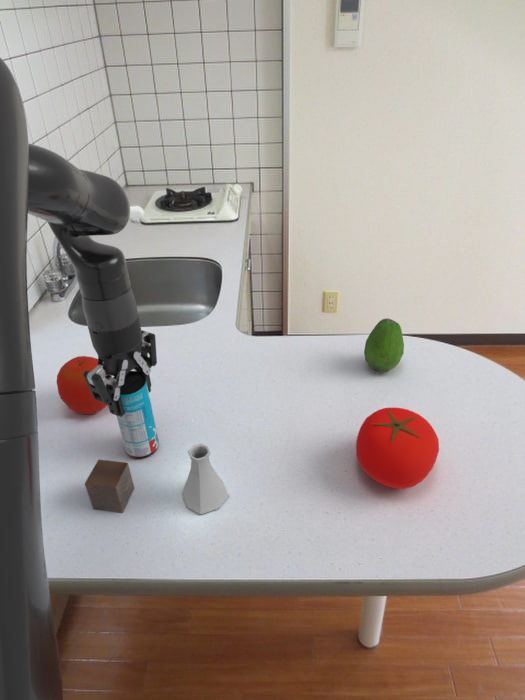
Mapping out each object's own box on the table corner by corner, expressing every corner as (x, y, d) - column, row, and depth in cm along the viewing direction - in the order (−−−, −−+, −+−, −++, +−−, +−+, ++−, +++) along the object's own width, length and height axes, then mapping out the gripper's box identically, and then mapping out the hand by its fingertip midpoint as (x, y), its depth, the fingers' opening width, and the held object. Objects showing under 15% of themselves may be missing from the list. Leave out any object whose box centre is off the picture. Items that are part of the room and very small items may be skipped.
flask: (211, 471, 88) (205, 427, 83) (237, 497, 84) (232, 453, 78) (174, 494, 85) (165, 450, 79) (199, 522, 80) (192, 477, 74)
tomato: (368, 430, 95) (373, 385, 89) (441, 452, 90) (451, 406, 84) (340, 485, 85) (344, 438, 79) (420, 514, 80) (430, 466, 74)
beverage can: (166, 446, 93) (153, 380, 85) (138, 465, 90) (122, 398, 81) (146, 431, 97) (132, 366, 88) (119, 448, 93) (101, 382, 85)
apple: (128, 400, 104) (117, 353, 98) (88, 430, 98) (74, 381, 91) (94, 384, 109) (81, 337, 103) (54, 411, 102) (37, 363, 96)
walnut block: (122, 513, 82) (115, 487, 78) (93, 509, 83) (84, 483, 79) (134, 488, 86) (128, 462, 83) (106, 484, 87) (98, 459, 83)
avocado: (398, 382, 106) (406, 332, 99) (360, 375, 108) (364, 326, 102) (402, 359, 112) (409, 311, 106) (366, 354, 115) (370, 306, 108)
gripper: (126, 290, 85) (143, 373, 94) (57, 333, 74) (84, 421, 84) (162, 300, 81) (176, 385, 91) (95, 346, 71) (119, 437, 81)
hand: (132, 402), depth 87 cm, fingers closed on beverage can, 6 cm apart
